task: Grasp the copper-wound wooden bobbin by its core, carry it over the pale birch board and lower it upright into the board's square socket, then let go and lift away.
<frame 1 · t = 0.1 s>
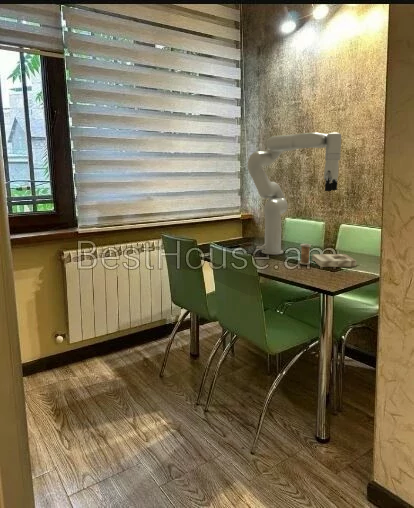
hand: (330, 190, 217), 37 cm above the table, tool pointing down, fingers open, 9 cm apart
bobbin: (304, 263, 214), on the table
socket board: (333, 263, 214), on the table
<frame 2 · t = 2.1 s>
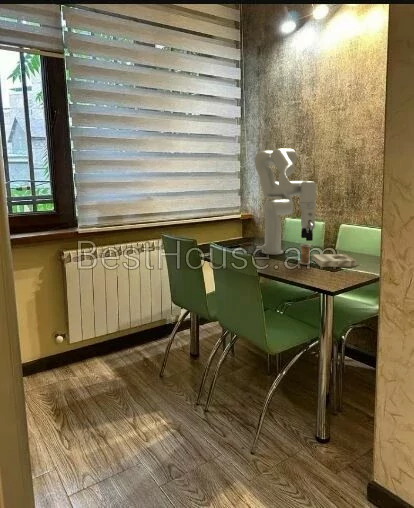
hand: (306, 239, 211), 13 cm above the table, tool pointing down, fingers open, 9 cm apart
nothing on the table moved.
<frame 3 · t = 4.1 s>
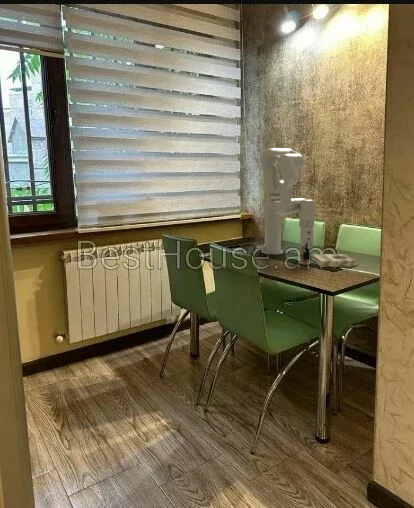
hand: (305, 258, 213), 3 cm above the table, tool pointing down, fingers closed on bobbin, 4 cm apart
bobbin: (304, 263, 214), on the table, touching gripper
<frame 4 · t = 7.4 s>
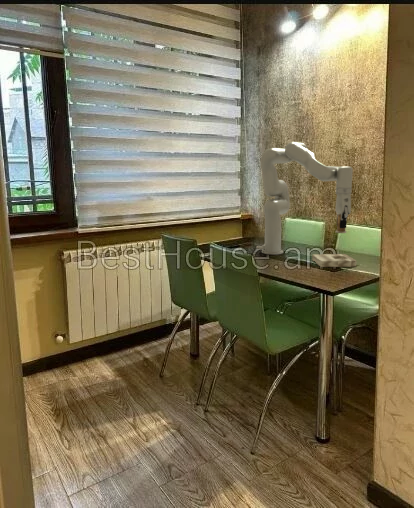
hand: (341, 227, 210), 19 cm above the table, tool pointing down, fingers closed on bobbin, 4 cm apart
bobbin: (340, 232, 211), point 16 cm above the table, touching gripper
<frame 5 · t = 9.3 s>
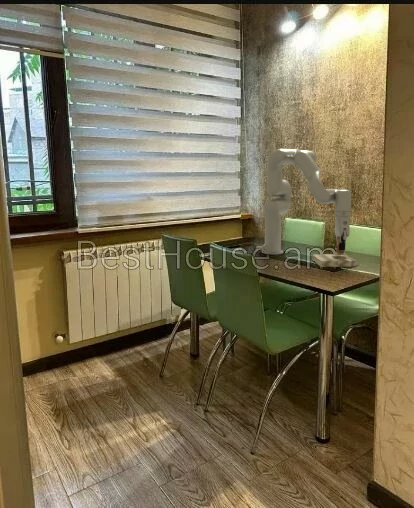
hand: (340, 248, 213), 8 cm above the table, tool pointing down, fingers closed on bobbin, 4 cm apart
bobbin: (340, 254, 213), point 5 cm above the table, touching gripper
when the fingers open (5 cm above the table, at t = 10.8 s): bobbin stays where it is, resting in socket board.
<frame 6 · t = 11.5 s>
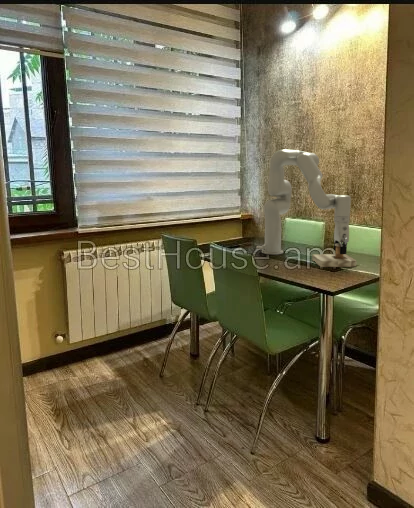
hand: (339, 252, 213), 6 cm above the table, tool pointing down, fingers open, 9 cm apart
bobbin: (338, 263, 214), resting in socket board
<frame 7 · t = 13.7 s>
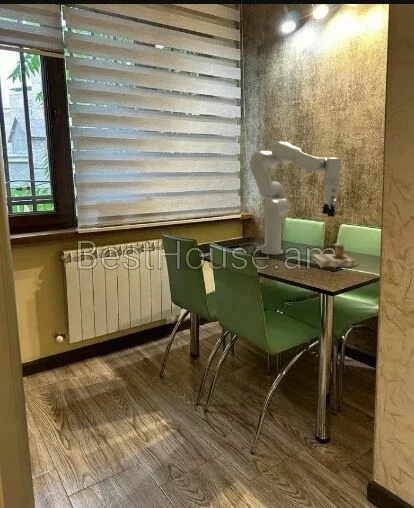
hand: (328, 215, 216), 24 cm above the table, tool pointing down, fingers open, 9 cm apart
nothing on the table moved.
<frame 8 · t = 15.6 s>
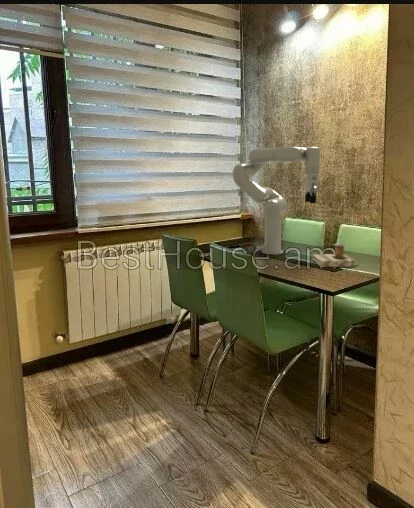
hand: (310, 202, 224), 30 cm above the table, tool pointing down, fingers open, 9 cm apart
nothing on the table moved.
at the end: bobbin 0.1 cm from the target spot on the socket board, point 0.0 cm above the socket board's base; bobbin tilted 0°; the gripper is holding nothing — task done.
